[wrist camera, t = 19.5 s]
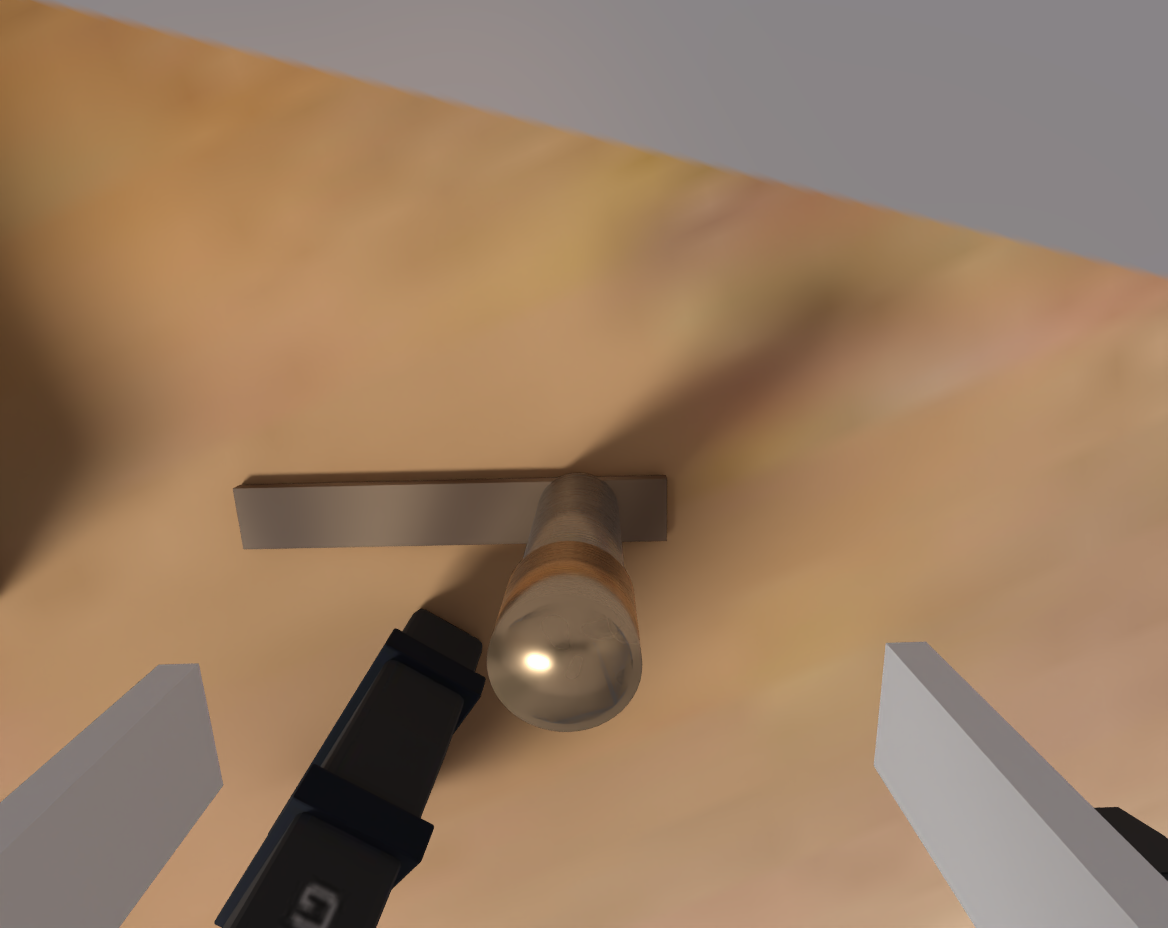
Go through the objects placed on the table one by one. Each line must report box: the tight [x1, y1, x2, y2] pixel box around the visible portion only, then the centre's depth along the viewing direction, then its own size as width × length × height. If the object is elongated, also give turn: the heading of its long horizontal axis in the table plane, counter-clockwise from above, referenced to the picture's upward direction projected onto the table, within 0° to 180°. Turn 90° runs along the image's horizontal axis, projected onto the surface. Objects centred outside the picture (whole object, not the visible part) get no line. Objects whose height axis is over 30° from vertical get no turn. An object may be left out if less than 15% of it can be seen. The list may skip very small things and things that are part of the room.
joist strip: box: [233, 475, 667, 549], centre depth 24 cm, size 16×2×1 cm, turn 92°
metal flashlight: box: [487, 473, 642, 732], centre depth 19 cm, size 3×3×10 cm
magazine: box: [215, 609, 486, 928], centre depth 21 cm, size 4×13×15 cm, turn 148°
